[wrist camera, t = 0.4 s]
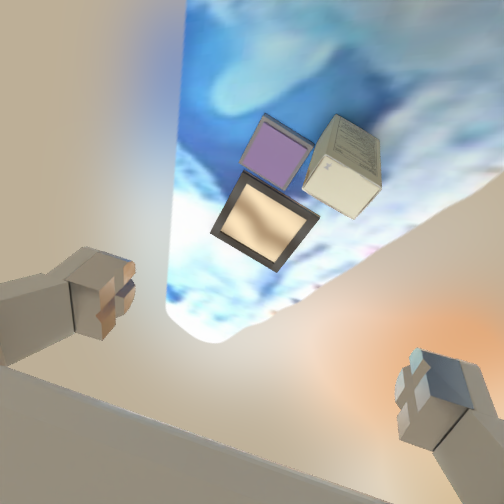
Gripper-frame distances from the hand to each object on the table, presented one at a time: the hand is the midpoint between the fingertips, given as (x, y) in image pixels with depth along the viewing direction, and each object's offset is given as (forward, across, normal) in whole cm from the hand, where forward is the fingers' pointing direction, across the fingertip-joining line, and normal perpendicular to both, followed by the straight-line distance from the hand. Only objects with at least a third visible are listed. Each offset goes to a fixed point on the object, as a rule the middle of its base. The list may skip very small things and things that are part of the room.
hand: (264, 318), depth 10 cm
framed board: (+39, +5, +18) cm, 43 cm away
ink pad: (+38, +6, +7) cm, 39 cm away
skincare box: (+38, -3, +4) cm, 38 cm away
